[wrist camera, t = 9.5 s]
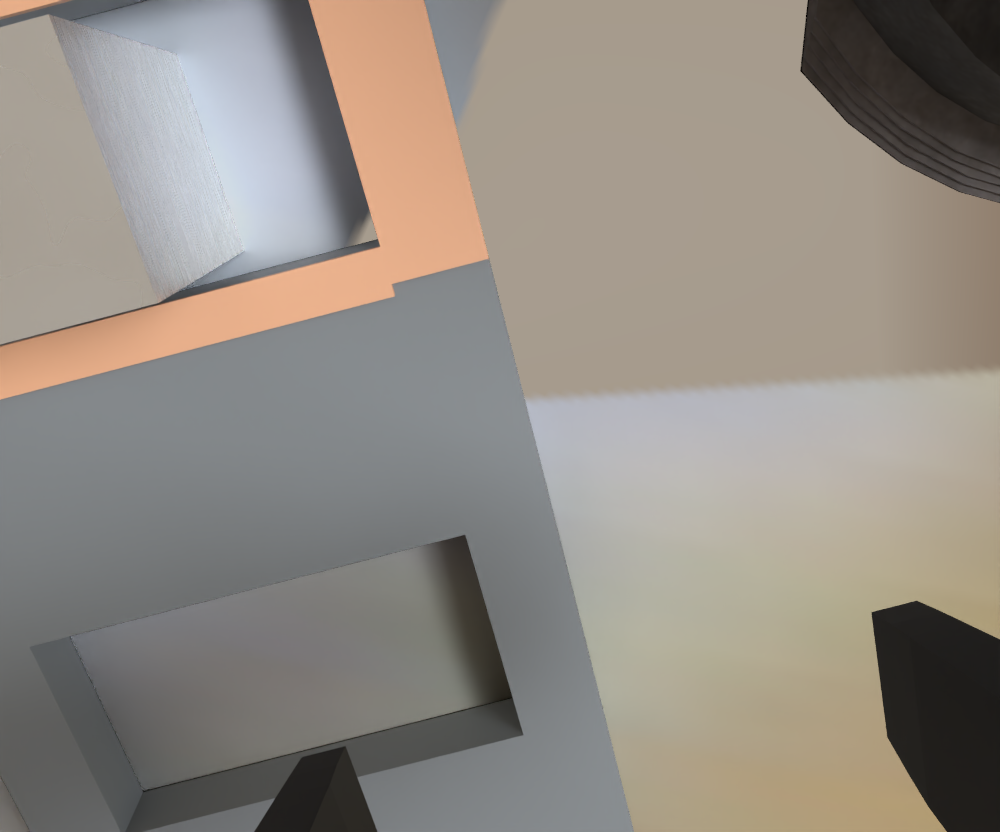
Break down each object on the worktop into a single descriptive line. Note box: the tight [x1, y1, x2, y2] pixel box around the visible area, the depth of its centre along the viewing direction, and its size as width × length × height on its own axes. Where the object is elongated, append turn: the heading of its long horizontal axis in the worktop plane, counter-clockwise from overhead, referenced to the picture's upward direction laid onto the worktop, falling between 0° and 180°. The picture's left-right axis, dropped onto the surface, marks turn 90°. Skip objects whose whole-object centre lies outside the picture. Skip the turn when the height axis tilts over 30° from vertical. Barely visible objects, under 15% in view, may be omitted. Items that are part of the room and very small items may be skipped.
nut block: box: [0, 14, 244, 344], centre depth 15 cm, size 4×4×6 cm
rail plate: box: [0, 0, 634, 832], centre depth 19 cm, size 14×26×2 cm, turn 14°
